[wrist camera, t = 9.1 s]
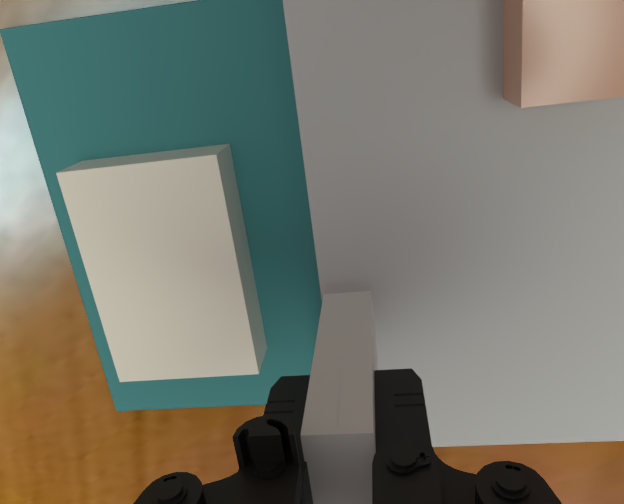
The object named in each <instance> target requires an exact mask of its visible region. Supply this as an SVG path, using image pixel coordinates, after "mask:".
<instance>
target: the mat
mask: <svg viewBox="0 0 624 504" xmlns="http://www.w3.org/2000/svg"><path fill="white" fill-rule="evenodd" d="M0 33H1V37H2V40H3V43H4V46H5V50H6V53H7V56H8V59H9V63H10V66H11V69H12V72H13V76H14V79H15V82H16V86H17V89H18V92H19V95H20V99H21V102H22V105H23V108H24V112H25V115H26V118H27V121H28V125H29V128H30V131H31V134H32V138H33V141H34V144H35V147H36V151H37V154H38V157H39V161H40V164H41V167H42V170H43V174H44V177H45V180H46V183H47V187H48V190H49V193H50V196H51V200H52V203H53V206H54V209H55V213H56V216H57V219H58V223H59V226H60V229H61V232H62V236H63V239H64V242H65V245H66V249H67V252H68V255H69V258H70V262H71V265H72V268H73V271H74V275H75V278H76V281H77V285H78V288H79V291H80V294H81V298H82V301H83V304H84V307H85V311H86V314H87V317H88V320H89V324H90V327H91V330H92V333H93V337H94V340H95V343H96V346H97V350H98V353H99V356H100V360H101V363H102V366H103V369H104V373H105V376H106V379H107V382H108V386H109V389H110V392H111V395H112V399H113V402H114V405H115V408H116V411H129V410H151V409H174V408H196V407H219V406H241V405H264V404H267V400H268V396H269V392H270V389H271V387H272V386H273V385H274V384H275V383H276V382H277V380H278V379H279V378H280V377H281V376H299V375H310V374H311V368H312V362H313V356H314V350H315V344H316V338H317V331H318V325H319V319H320V313H321V307H322V298H321V291H320V283H319V275H318V268H317V260H316V252H315V245H314V237H313V229H312V222H311V214H310V206H309V199H308V191H307V183H306V176H305V168H304V160H303V153H302V145H301V137H300V130H299V122H298V114H297V107H296V99H295V91H294V84H293V76H292V68H291V61H290V53H289V45H288V38H287V30H286V22H285V15H284V7H283V0H198V1H191V2H184V3H177V4H170V5H163V6H157V7H150V8H143V9H136V10H129V11H122V12H116V13H109V14H102V15H95V16H88V17H81V18H74V19H68V20H61V21H54V22H47V23H40V24H33V25H27V26H20V27H13V28H6V29H0ZM222 144H230V148H231V154H232V159H233V164H234V170H235V175H236V181H237V186H238V192H239V197H240V202H241V208H242V213H243V219H244V224H245V230H246V235H247V241H248V246H249V251H250V257H251V262H252V268H253V273H254V279H255V284H256V289H257V295H258V300H259V306H260V311H261V317H262V322H263V327H264V333H265V338H266V344H267V350H266V353H265V357H264V360H263V363H262V366H261V369H260V372H259V374H253V375H235V376H218V377H201V378H183V379H166V380H149V381H131V382H119V378H118V375H117V372H116V369H115V365H114V362H113V359H112V355H111V352H110V349H109V346H108V342H107V339H106V336H105V332H104V329H103V326H102V323H101V319H100V316H99V313H98V309H97V306H96V303H95V300H94V296H93V293H92V290H91V286H90V283H89V280H88V277H87V273H86V270H85V267H84V263H83V260H82V257H81V254H80V250H79V247H78V244H77V240H76V237H75V234H74V230H73V227H72V224H71V221H70V217H69V214H68V211H67V207H66V204H65V201H64V198H63V194H62V191H61V188H60V184H59V181H58V178H57V175H56V173H57V172H59V171H61V170H63V169H66V168H68V167H70V166H72V165H74V164H76V163H79V162H81V161H85V160H93V159H102V158H110V157H119V156H128V155H136V154H145V153H153V152H162V151H171V150H179V149H188V148H196V147H205V146H214V145H222Z"/></svg>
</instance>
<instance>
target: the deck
mask: <svg viewBox="0 0 624 504" xmlns="http://www.w3.org/2000/svg"><path fill="white" fill-rule="evenodd" d="M503 1H504V0H283V7H284V15H285V22H286V30H287V38H288V45H289V53H290V61H291V68H292V76H293V84H294V91H295V99H296V107H297V114H298V122H299V130H300V137H301V145H302V153H303V160H304V168H305V176H306V183H307V191H308V199H309V206H310V214H311V222H312V229H313V237H314V245H315V252H316V260H317V268H318V275H319V283H320V291H321V298H322V301H323V295H324V294H332V293H347V292H361V291H371V295H372V305H373V316H374V327H375V337H376V348H377V359H378V370H390V369H410V368H412V369H413V370H414V371H415V373H416V374H417V375H418V376H419V377H420V378H421V379H422V385H423V392H424V398H425V405H426V411H427V417H428V424H429V430H430V437H431V443H432V447H446V446H477V445H507V444H538V443H568V442H599V441H624V97H617V98H608V99H598V100H589V101H580V102H571V103H562V104H553V105H544V106H535V107H526V108H520V107H518V106H516V105H514V104H512V103H510V102H508V101H506V100H504V99H503Z"/></svg>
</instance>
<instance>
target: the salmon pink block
mask: <svg viewBox="0 0 624 504" xmlns="http://www.w3.org/2000/svg"><path fill="white" fill-rule="evenodd" d="M617 97H624V0H504V1H503V99H504V100H506V101H508V102H510V103H512V104H514V105H516V106H518V107H520V108H526V107H535V106H544V105H553V104H562V103H571V102H580V101H589V100H598V99H608V98H617Z"/></svg>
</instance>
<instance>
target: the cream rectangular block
mask: <svg viewBox="0 0 624 504" xmlns="http://www.w3.org/2000/svg"><path fill="white" fill-rule="evenodd" d="M56 175H57V178H58V181H59V184H60V188H61V191H62V194H63V198H64V201H65V204H66V207H67V211H68V214H69V217H70V221H71V224H72V227H73V230H74V234H75V237H76V240H77V244H78V247H79V250H80V254H81V257H82V260H83V263H84V267H85V270H86V273H87V277H88V280H89V283H90V286H91V290H92V293H93V296H94V300H95V303H96V306H97V309H98V313H99V316H100V319H101V323H102V326H103V329H104V332H105V336H106V339H107V342H108V346H109V349H110V352H111V355H112V359H113V362H114V365H115V369H116V372H117V375H118V378H119V382H131V381H149V380H166V379H183V378H201V377H218V376H235V375H253V374H259V372H260V369H261V366H262V363H263V360H264V357H265V353H266V350H267V344H266V338H265V333H264V327H263V322H262V317H261V311H260V306H259V300H258V295H257V289H256V284H255V279H254V273H253V268H252V262H251V257H250V251H249V246H248V241H247V235H246V230H245V224H244V219H243V213H242V208H241V202H240V197H239V192H238V186H237V181H236V175H235V170H234V164H233V159H232V154H231V148H230V144H222V145H214V146H205V147H196V148H188V149H179V150H171V151H162V152H153V153H145V154H136V155H128V156H119V157H110V158H102V159H93V160H85V161H81V162H79V163H76V164H74V165H72V166H70V167H68V168H66V169H63V170H61V171H59V172H57V173H56Z"/></svg>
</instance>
